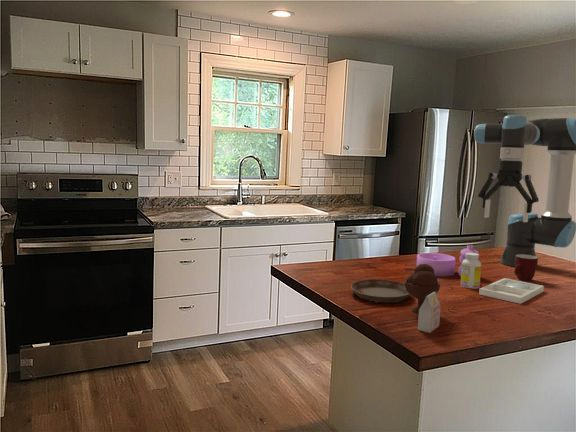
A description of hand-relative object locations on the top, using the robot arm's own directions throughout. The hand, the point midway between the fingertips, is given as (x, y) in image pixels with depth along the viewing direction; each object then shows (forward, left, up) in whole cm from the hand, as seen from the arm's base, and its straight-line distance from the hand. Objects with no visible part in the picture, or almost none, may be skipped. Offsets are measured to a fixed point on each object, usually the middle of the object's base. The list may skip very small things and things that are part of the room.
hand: (505, 219), depth 180 cm
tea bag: (+55, +2, -26) cm, 61 cm away
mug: (-20, +1, -26) cm, 33 cm away
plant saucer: (+39, -25, -27) cm, 53 cm away
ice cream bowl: (+44, -7, -26) cm, 52 cm away
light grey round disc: (-3, +5, -25) cm, 26 cm away
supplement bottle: (+5, -9, -26) cm, 28 cm away
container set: (-8, -25, -27) cm, 37 cm away
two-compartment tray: (+2, +5, -26) cm, 27 cm away
